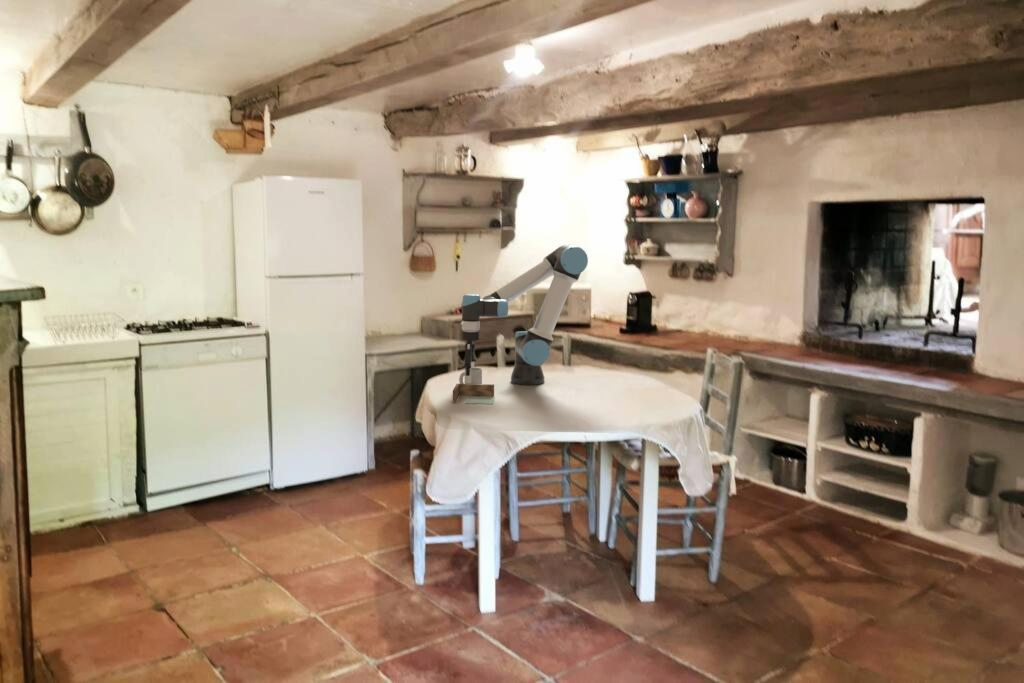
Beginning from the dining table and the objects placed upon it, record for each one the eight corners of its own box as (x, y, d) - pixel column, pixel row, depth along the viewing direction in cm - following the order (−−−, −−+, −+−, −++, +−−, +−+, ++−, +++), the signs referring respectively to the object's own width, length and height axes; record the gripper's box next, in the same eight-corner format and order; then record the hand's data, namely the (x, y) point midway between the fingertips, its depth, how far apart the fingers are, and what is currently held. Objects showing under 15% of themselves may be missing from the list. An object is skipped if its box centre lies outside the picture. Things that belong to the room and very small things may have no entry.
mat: (495, 397, 327) (494, 396, 327) (492, 404, 315) (492, 403, 315) (468, 396, 327) (468, 396, 327) (465, 403, 315) (465, 403, 315)
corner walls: (494, 396, 329) (494, 384, 328) (491, 403, 315) (491, 391, 315) (456, 395, 330) (456, 383, 329) (452, 403, 316) (452, 390, 315)
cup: (484, 390, 339) (484, 370, 338) (461, 392, 336) (461, 371, 334) (478, 387, 346) (479, 367, 344) (456, 388, 342) (456, 368, 341)
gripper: (464, 326, 349) (463, 373, 352) (458, 334, 324) (457, 385, 328) (481, 327, 349) (480, 374, 352) (476, 335, 324) (475, 386, 327)
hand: (469, 379), depth 340 cm, fingers open, 13 cm apart
